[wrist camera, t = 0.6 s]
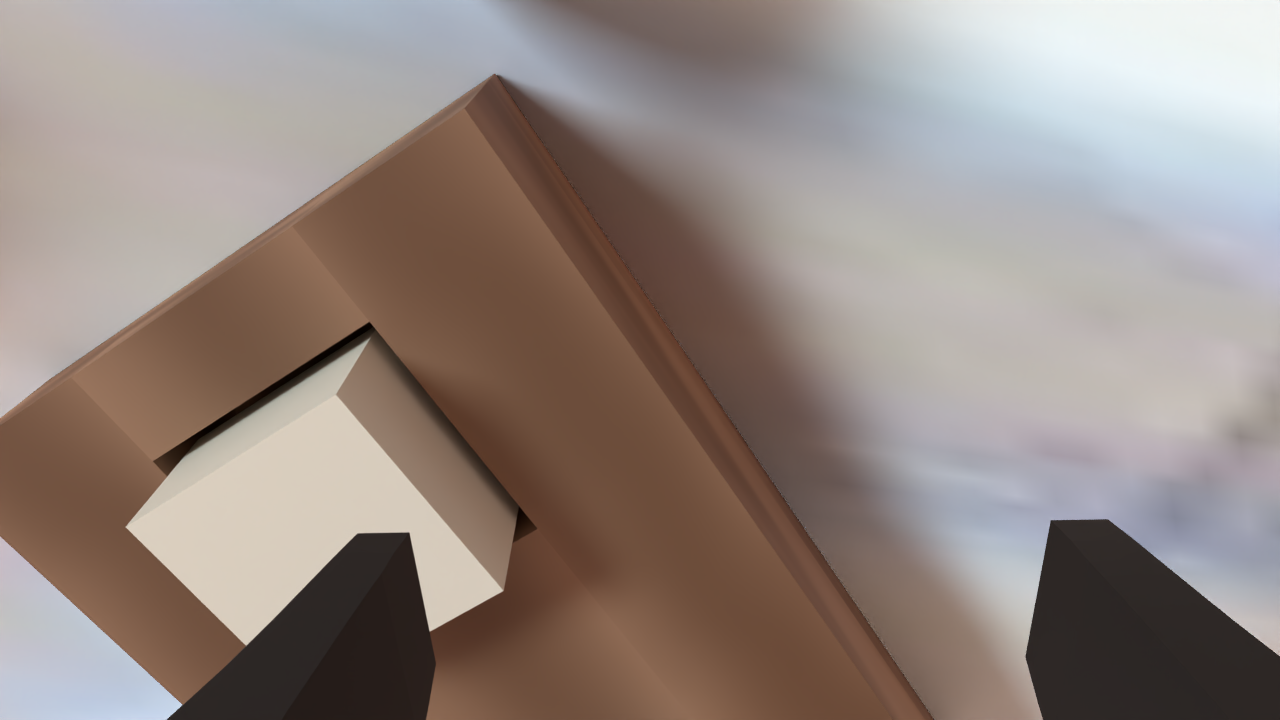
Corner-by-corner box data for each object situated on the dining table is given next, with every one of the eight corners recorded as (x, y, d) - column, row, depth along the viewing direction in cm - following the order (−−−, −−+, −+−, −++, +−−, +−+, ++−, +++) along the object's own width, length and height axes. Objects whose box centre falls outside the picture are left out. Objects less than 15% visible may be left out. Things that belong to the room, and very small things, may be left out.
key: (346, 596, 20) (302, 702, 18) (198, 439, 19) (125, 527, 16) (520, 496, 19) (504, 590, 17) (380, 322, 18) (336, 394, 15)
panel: (565, 906, 28) (557, 1050, 25) (49, 379, 22) (-69, 472, 18) (941, 731, 26) (994, 863, 22) (495, 73, 19) (464, 108, 15)
